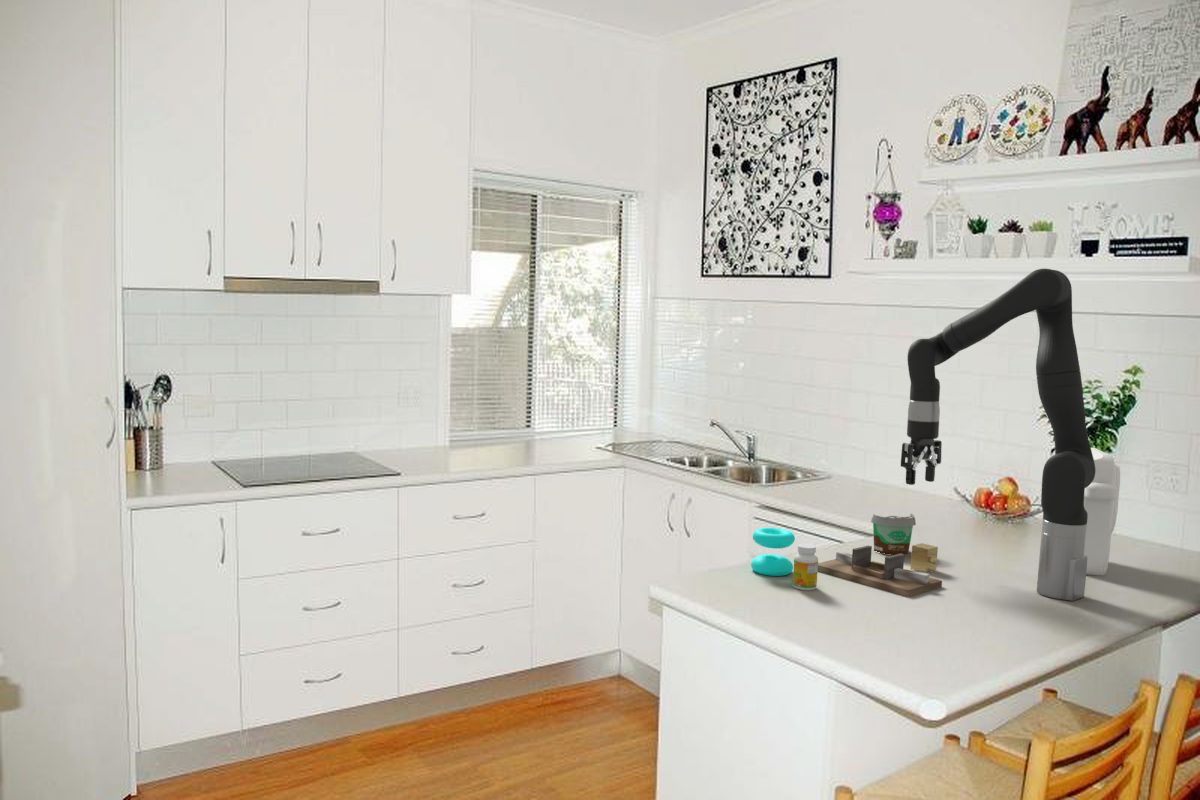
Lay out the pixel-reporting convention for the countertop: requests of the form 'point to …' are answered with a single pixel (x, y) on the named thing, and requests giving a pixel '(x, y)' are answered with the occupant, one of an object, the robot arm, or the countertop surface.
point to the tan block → (924, 557)
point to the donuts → (770, 562)
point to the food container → (892, 534)
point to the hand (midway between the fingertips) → (920, 482)
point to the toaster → (1101, 511)
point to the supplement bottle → (805, 568)
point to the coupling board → (879, 572)
